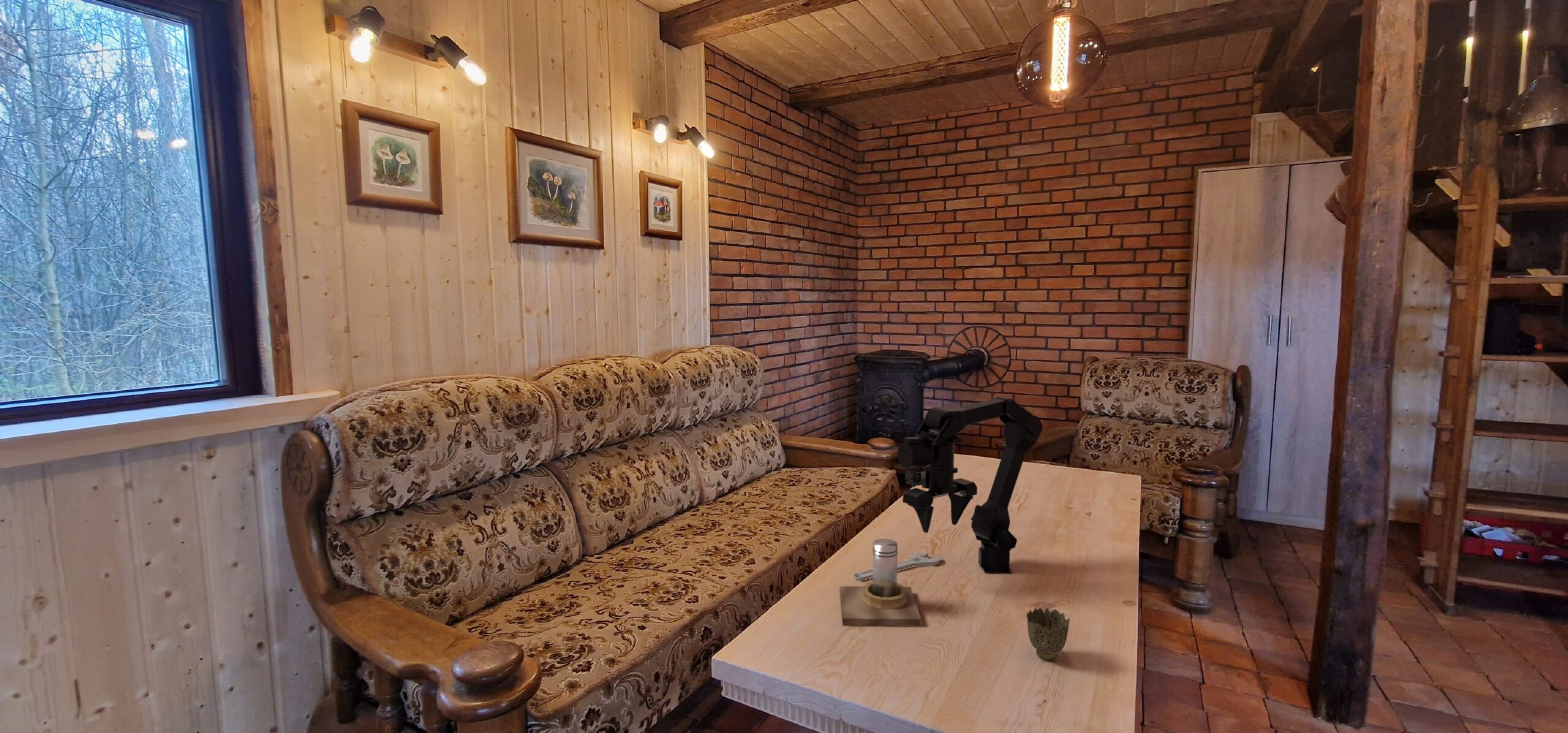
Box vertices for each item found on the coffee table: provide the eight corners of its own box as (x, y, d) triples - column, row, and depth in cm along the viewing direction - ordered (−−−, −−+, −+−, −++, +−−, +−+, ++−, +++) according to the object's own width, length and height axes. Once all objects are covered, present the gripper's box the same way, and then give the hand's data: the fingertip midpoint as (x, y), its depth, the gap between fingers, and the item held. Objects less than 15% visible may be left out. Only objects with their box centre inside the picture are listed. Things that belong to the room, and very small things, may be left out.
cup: (1018, 647, 129) (1019, 608, 128) (1055, 645, 130) (1057, 606, 129) (1036, 669, 122) (1037, 627, 121) (1075, 667, 123) (1077, 625, 122)
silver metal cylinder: (900, 596, 148) (900, 541, 147) (892, 606, 143) (893, 549, 142) (877, 591, 151) (877, 537, 149) (868, 601, 146) (868, 545, 144)
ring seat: (910, 593, 153) (910, 578, 152) (921, 626, 138) (921, 609, 138) (839, 592, 154) (839, 577, 153) (842, 625, 139) (842, 609, 138)
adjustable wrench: (857, 585, 158) (857, 578, 158) (843, 575, 164) (843, 568, 164) (944, 565, 169) (944, 558, 168) (928, 556, 174) (928, 550, 174)
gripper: (944, 450, 167) (943, 511, 169) (886, 461, 157) (886, 526, 159) (979, 459, 157) (977, 524, 159) (920, 472, 147) (919, 540, 149)
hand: (940, 528), depth 157 cm, fingers open, 9 cm apart
